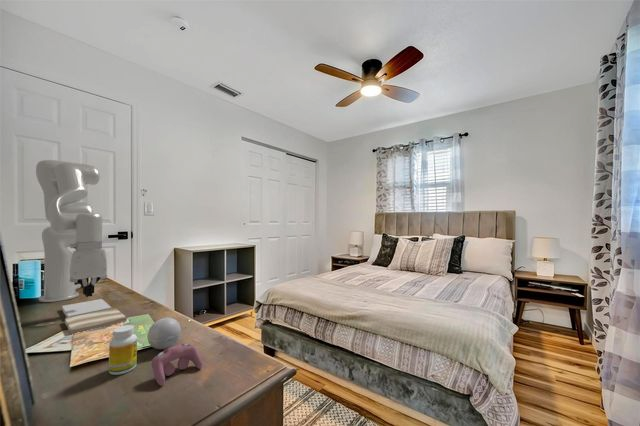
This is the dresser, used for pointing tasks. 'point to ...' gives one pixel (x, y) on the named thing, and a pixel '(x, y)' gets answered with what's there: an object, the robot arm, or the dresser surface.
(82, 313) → the grey plank
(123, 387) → the dresser surface
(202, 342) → the dresser surface
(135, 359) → the supplement bottle
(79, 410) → the dresser surface
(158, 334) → the bath bomb
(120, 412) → the dresser surface
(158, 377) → the video game controller
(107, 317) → the birch board
